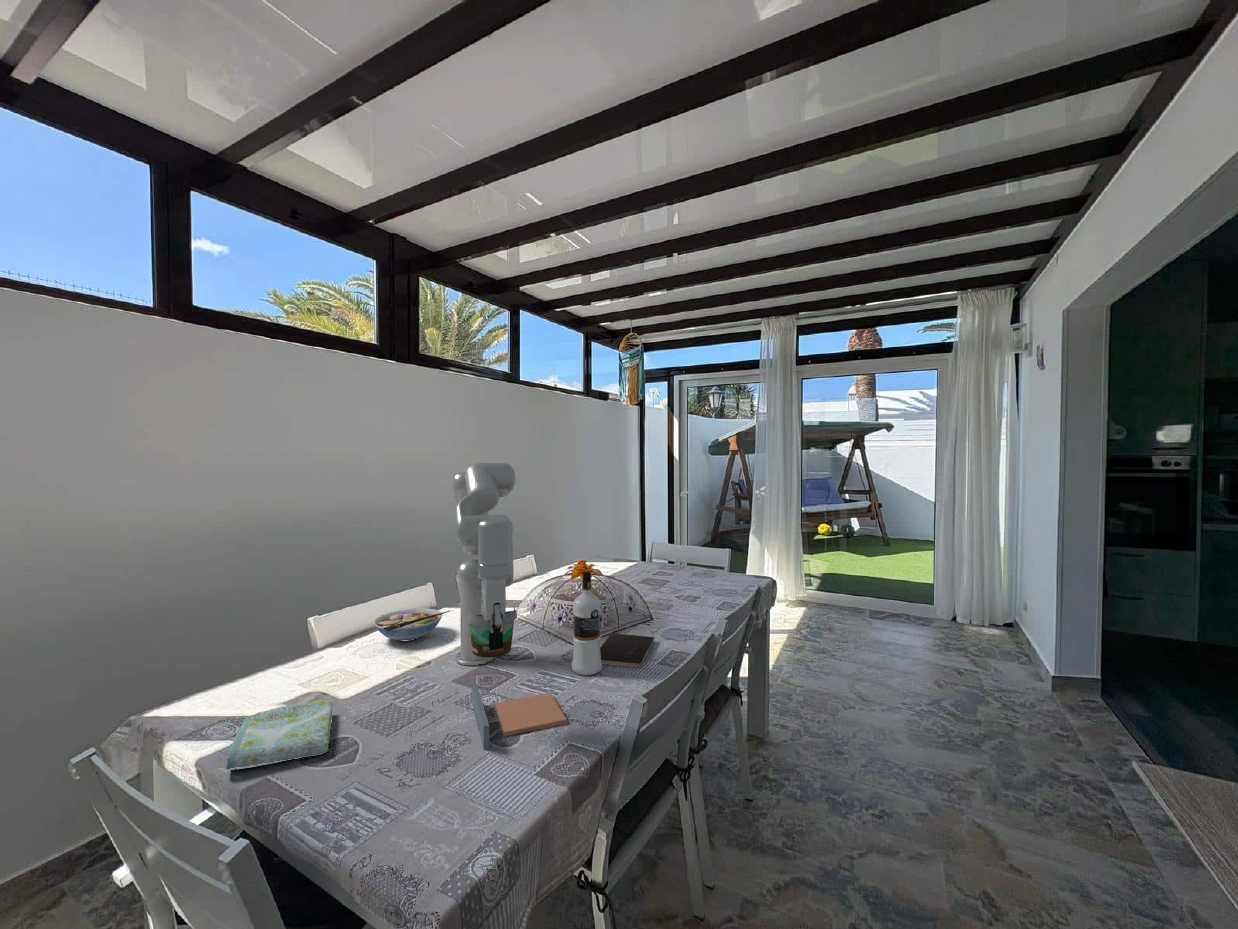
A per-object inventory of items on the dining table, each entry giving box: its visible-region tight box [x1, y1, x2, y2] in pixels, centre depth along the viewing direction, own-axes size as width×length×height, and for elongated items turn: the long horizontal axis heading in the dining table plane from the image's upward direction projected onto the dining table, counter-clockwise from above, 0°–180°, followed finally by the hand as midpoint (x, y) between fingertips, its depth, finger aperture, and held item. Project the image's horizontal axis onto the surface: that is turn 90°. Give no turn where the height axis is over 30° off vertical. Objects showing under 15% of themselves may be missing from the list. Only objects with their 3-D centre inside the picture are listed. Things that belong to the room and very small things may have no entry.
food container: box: [466, 606, 518, 658], centre depth 123 cm, size 12×6×10 cm, turn 115°
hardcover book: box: [600, 632, 655, 668], centre depth 168 cm, size 16×23×2 cm
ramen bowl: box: [373, 607, 451, 641], centre depth 181 cm, size 25×23×8 cm
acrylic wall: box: [471, 684, 490, 750], centre depth 123 cm, size 22×1×5 cm, turn 22°
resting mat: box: [493, 692, 568, 737], centre depth 127 cm, size 15×15×1 cm
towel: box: [226, 699, 334, 770], centre depth 115 cm, size 18×21×5 cm
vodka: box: [571, 570, 603, 676], centre depth 154 cm, size 9×9×30 cm
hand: (494, 643), depth 124 cm, fingers closed on food container, 5 cm apart
